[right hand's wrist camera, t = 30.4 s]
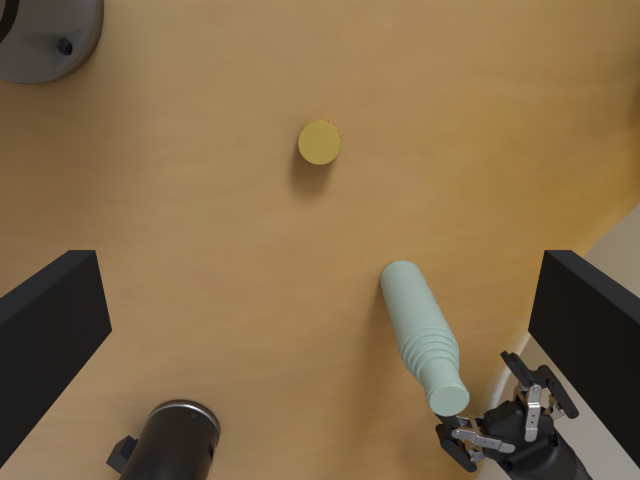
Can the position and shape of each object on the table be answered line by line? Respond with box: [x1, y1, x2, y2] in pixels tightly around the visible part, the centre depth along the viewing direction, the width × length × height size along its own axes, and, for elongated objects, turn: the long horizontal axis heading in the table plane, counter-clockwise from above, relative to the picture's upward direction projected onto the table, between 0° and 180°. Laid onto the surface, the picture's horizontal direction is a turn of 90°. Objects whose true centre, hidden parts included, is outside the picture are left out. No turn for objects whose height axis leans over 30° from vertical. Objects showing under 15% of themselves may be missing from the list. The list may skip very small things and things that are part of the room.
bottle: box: [380, 260, 469, 416], centre depth 39 cm, size 5×5×19 cm
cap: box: [298, 119, 341, 165], centre depth 41 cm, size 4×4×2 cm
